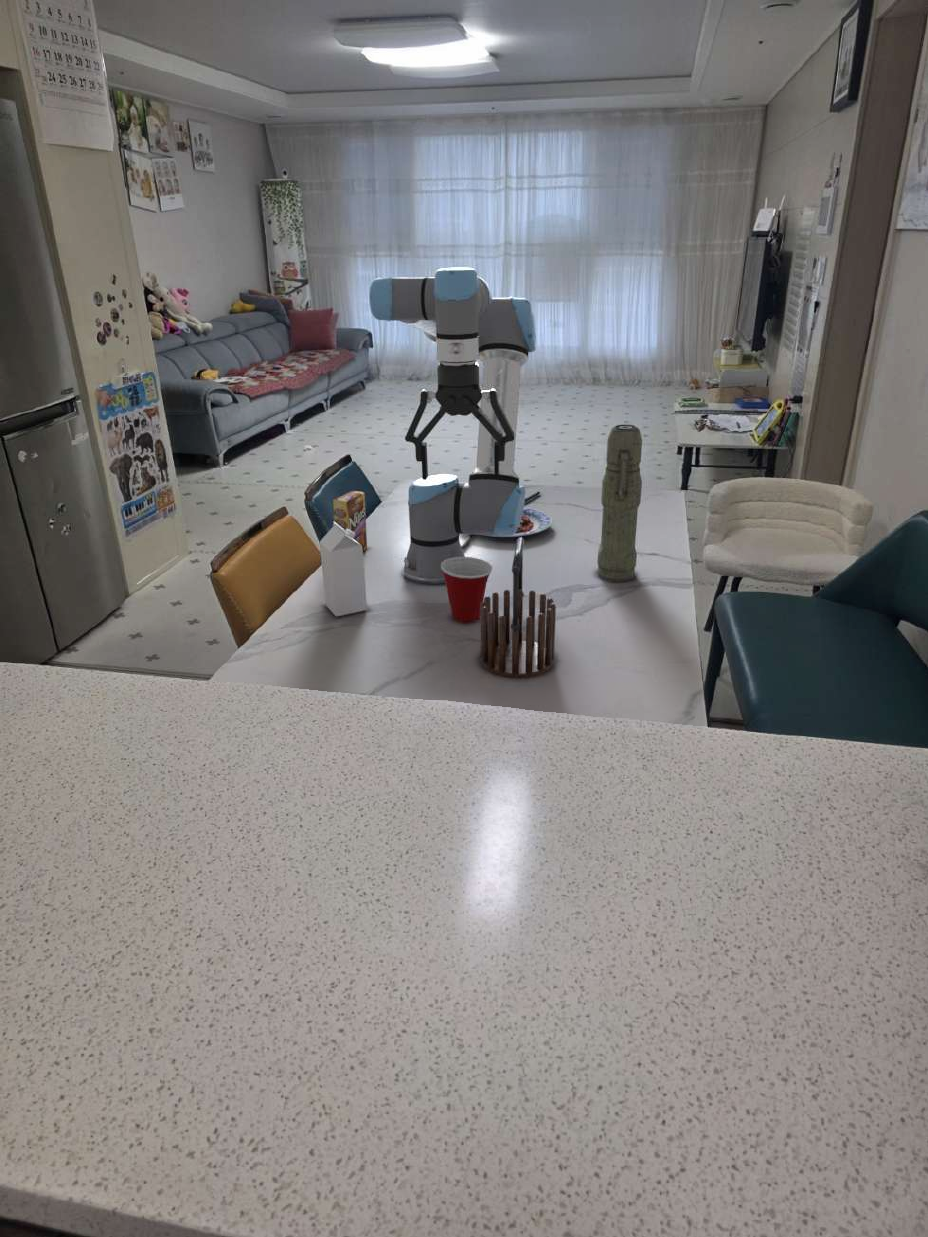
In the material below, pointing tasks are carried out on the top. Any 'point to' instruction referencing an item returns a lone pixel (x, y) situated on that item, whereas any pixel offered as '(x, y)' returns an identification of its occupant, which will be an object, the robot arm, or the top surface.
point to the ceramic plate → (531, 523)
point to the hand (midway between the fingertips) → (460, 478)
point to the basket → (517, 630)
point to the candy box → (352, 515)
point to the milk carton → (343, 572)
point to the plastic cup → (465, 586)
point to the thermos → (620, 504)
